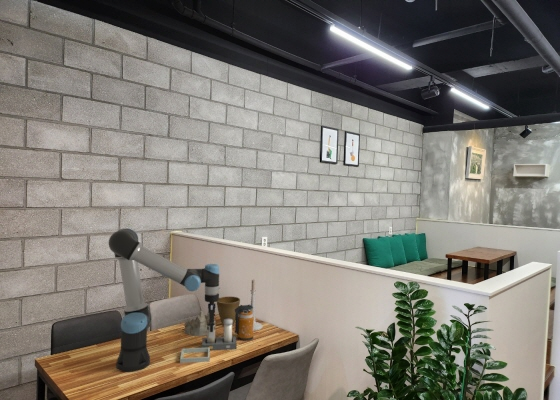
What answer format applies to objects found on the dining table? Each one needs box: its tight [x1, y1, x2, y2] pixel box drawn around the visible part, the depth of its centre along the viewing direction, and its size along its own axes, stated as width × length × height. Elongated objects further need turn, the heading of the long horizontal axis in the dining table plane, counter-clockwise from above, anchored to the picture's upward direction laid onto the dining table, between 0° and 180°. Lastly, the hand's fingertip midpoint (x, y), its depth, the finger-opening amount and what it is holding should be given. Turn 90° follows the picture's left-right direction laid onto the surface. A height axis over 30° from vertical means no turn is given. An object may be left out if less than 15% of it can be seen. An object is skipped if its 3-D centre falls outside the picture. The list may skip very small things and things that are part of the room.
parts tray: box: [179, 347, 211, 365], centre depth 190 cm, size 14×12×3 cm
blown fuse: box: [206, 319, 217, 343], centre depth 203 cm, size 5×5×14 cm
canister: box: [233, 304, 254, 342], centre depth 216 cm, size 9×11×20 cm
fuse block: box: [201, 336, 238, 351], centre depth 204 cm, size 18×10×4 cm, turn 100°
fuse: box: [223, 319, 233, 342], centre depth 205 cm, size 5×5×14 cm
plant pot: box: [216, 296, 241, 327], centre depth 241 cm, size 15×15×16 cm
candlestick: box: [250, 279, 263, 332], centre depth 237 cm, size 13×13×30 cm
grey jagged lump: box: [183, 310, 217, 337], centre depth 226 cm, size 16×16×15 cm
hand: (211, 332), depth 203 cm, fingers open, 13 cm apart
